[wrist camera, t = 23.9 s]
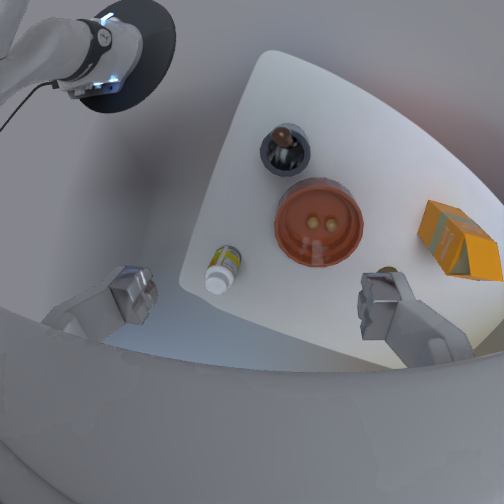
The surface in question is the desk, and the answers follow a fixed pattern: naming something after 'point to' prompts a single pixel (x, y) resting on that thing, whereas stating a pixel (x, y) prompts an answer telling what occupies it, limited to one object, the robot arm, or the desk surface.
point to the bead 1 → (313, 223)
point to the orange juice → (459, 244)
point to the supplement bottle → (222, 270)
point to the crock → (286, 153)
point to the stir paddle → (283, 138)
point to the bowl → (322, 207)
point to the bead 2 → (331, 225)
